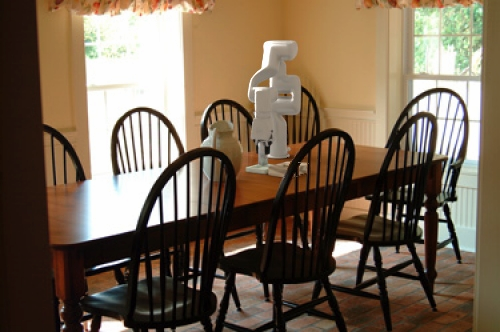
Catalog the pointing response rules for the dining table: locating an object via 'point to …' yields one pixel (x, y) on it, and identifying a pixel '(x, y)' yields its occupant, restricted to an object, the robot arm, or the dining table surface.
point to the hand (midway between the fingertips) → (263, 153)
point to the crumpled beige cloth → (282, 167)
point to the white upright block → (262, 154)
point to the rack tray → (258, 169)
